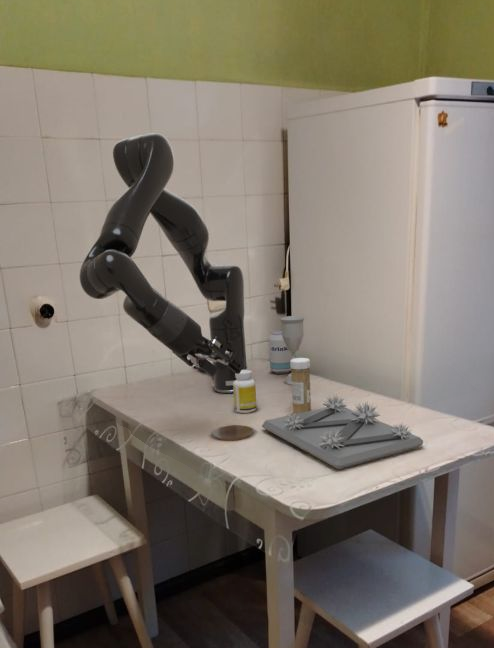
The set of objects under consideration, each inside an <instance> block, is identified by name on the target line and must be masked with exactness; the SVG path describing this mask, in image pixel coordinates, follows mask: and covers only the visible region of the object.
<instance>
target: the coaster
mask: <svg viewBox="0 0 494 648" xmlns="http://www.w3.org/2000/svg"><path fill="white" fill-rule="evenodd" d="M253 434H254V429H253V428H252V427H250V426H247V425H243V424H242V425H241V424H234V425H233V424H232V425H231V424H230V425H224V426H221V427H218V428H215V429H214V430H213V431H212V437H213V438H214V439H216V440H220V441H227V442H229V441H231V442H232V441H241V440H245V439H247V438H249V437H251V436H253Z"/></svg>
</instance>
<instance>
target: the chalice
mask: <svg viewBox="0 0 494 648" xmlns="http://www.w3.org/2000/svg"><path fill="white" fill-rule="evenodd" d="M305 318H306V317H305V316H301V315H288V316H287V315H286V316H282V317H280V318H279V320H280V322H281V331H282V337H283V339H284V342H285V344H286V346H287V348H288V350H289V351H291V352H292V358H291V360H292V359H295V358H297V357H296V352H297V351H299V349H300V348H301V347H300V346H301V344H302V341H303V339H304V320H305ZM285 383H286V384H287V385H292V375H291V373H288V375H287V378H286V381H285Z"/></svg>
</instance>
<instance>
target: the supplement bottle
mask: <svg viewBox="0 0 494 648" xmlns="http://www.w3.org/2000/svg"><path fill="white" fill-rule="evenodd" d="M235 377H236V378H237V380H235V381H234V382H233V390H234V393H233V402H234V403H233V405H234V411H235V412H237V413H240V414H248V413H253V412H255V411H256V410H257V409H258V407H257V406H258V405H257V391H256V381H255V380H254V379H253V378H252V377H253V373H252V370H250V369H247V370H241V372H240V373H239V374H236V373H235Z"/></svg>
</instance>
